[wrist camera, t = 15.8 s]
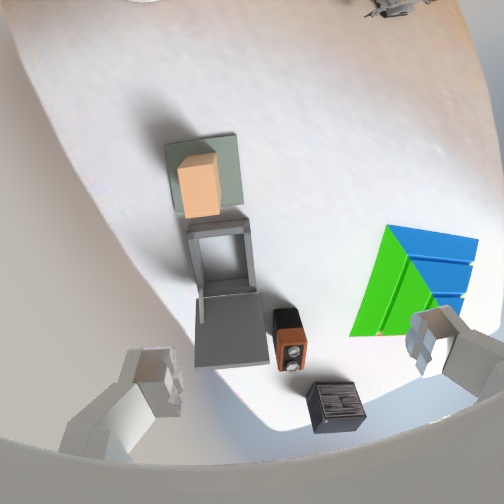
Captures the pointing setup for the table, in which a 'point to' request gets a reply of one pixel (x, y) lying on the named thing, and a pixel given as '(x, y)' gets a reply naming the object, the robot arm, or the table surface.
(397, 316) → the pyramid toy
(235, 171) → the rubber mat
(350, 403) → the small box
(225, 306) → the equipment case
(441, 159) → the table surface
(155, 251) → the table surface
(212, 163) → the block
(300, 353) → the battery
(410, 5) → the figurine
